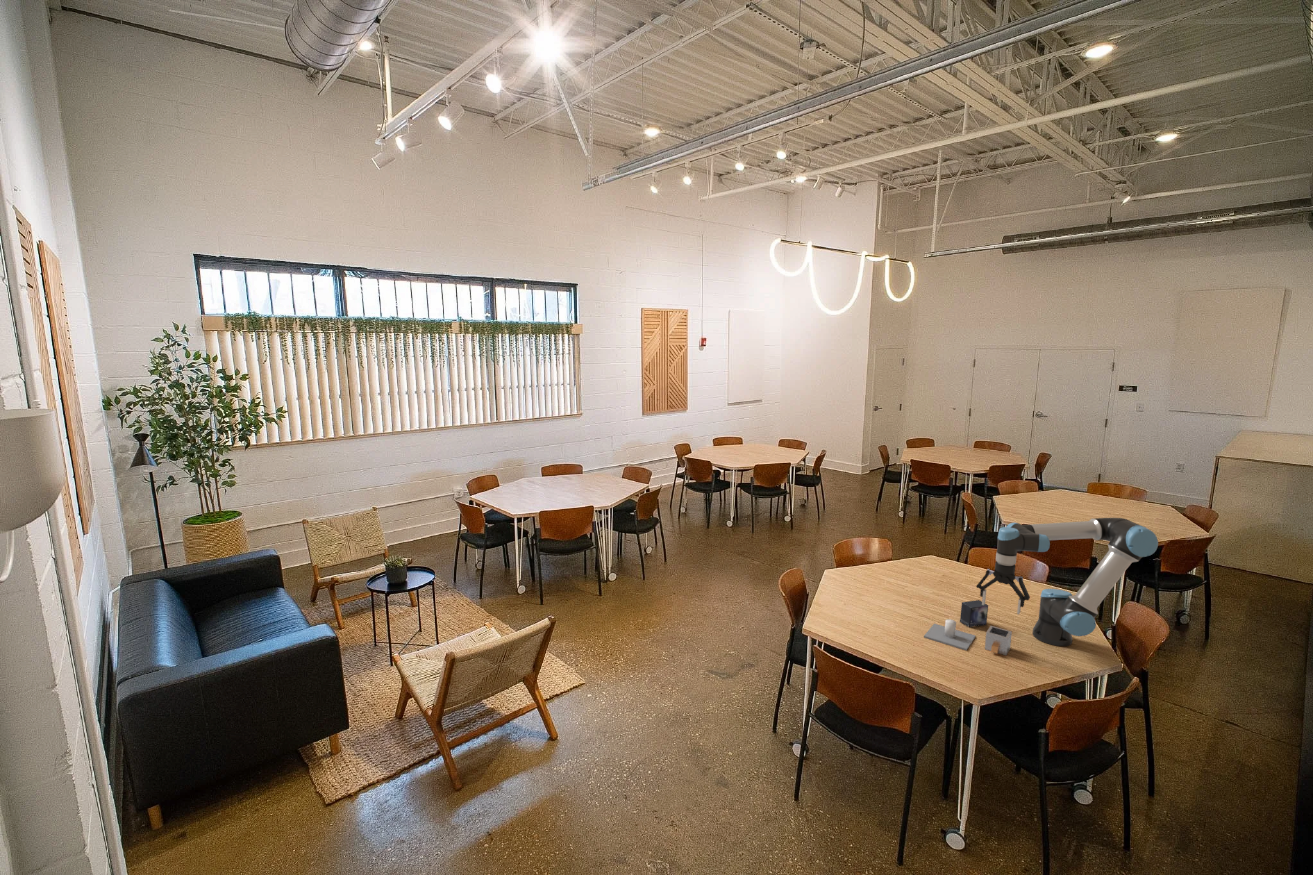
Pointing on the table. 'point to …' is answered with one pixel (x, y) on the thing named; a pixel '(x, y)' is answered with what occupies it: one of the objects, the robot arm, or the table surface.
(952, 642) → the grey base with peg
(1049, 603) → the robot arm
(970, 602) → the small box
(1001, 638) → the collar
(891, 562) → the table surface
